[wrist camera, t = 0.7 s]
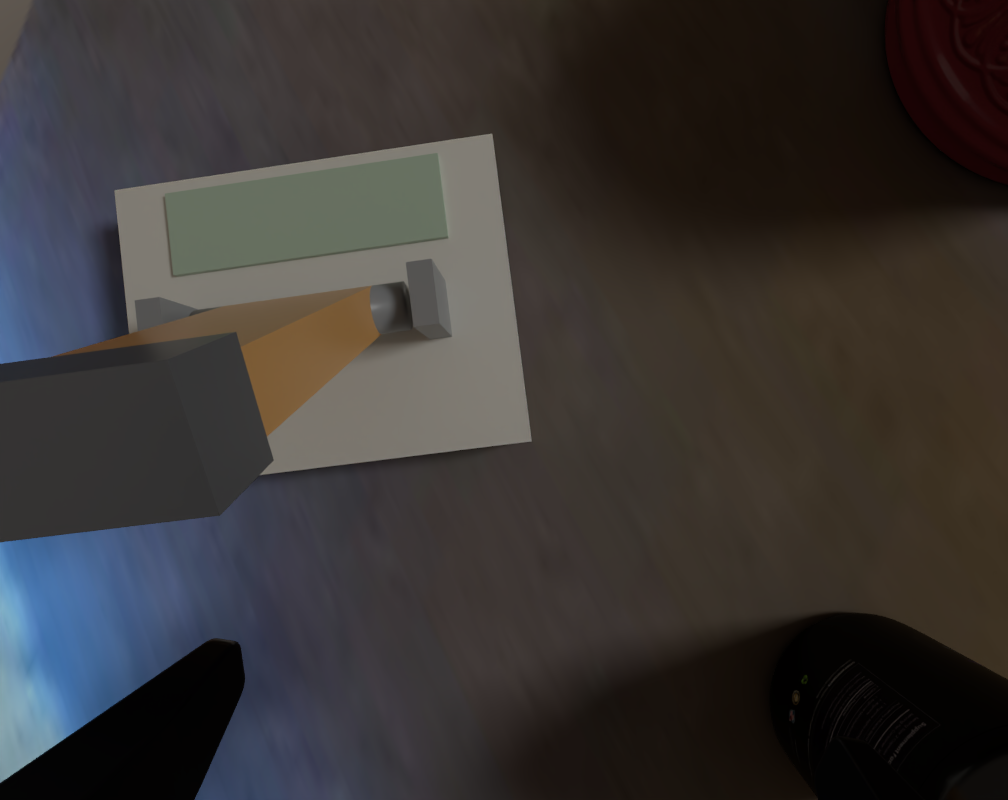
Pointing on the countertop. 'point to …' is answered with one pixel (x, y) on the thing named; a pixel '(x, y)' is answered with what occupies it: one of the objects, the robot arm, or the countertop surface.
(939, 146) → the canister
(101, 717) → the robot arm
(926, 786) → the supplement bottle
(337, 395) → the base
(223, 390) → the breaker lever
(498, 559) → the countertop surface
